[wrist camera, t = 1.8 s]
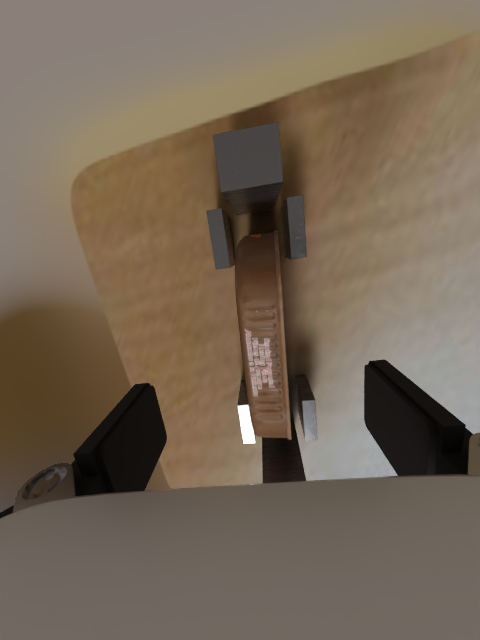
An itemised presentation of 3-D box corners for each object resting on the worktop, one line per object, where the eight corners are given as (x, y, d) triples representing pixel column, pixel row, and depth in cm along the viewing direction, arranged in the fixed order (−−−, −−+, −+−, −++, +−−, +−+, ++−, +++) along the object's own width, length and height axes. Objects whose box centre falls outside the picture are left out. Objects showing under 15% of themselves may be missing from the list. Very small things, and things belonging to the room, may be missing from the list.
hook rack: (291, 171, 18) (315, 114, 10) (309, 429, 24) (332, 511, 17) (212, 185, 19) (179, 141, 11) (248, 432, 25) (244, 513, 17)
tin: (288, 394, 24) (303, 470, 16) (256, 396, 24) (254, 470, 16) (278, 233, 20) (291, 222, 11) (239, 238, 20) (225, 230, 12)
